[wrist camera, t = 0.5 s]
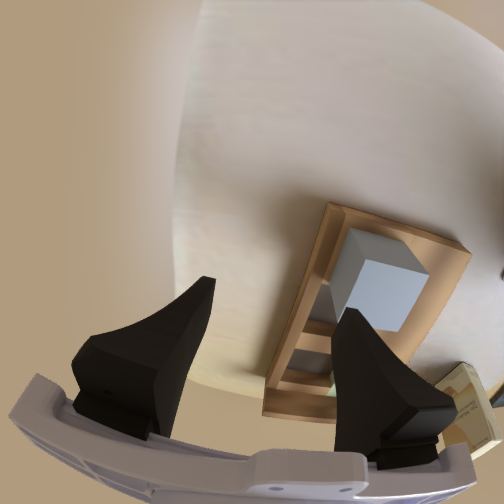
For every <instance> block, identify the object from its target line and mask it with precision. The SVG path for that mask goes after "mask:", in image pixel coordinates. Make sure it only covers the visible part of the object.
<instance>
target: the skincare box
mask: <svg viewBox="0 0 504 504" xmlns="http://www.w3.org/2000/svg"><path fill="white" fill-rule="evenodd" d="M434 387H435V388H437V389H439V390H440V391H442V392H444V393H446V394H448V395H450V396H451V397H453V399H454V402H455V405H456V408H457V410H458V414H457V417H456V418H455V420H454V421H453V422H452V423H451V424H450V425H449V426H448V427H447V428H446V429H444V430H443V431H442V435H443V439H444V443H445V447H446V448H447V447H449V446H451V445H454V444H459V443H464V442H467V444H468V448H469V451H470V455H471V458H472V460H474V459H475V458H477V457H479V456H480V455H482V454H484V453H485V452H487V451H488V450H489V449H491V448H492V447H494V446H495V445H497V444H498V443H500V442H501V441H502V440H503V439H502V435H501V432H500V429H499V426H498V424H497V421H496V418H495V415H494V412H493V410H492V407H491V404H490V402H489V399H488V397H487V395H486V392H485V390H484V387H483V385H482V383H481V380H480V378H479V376H478V374H477V372H476V369H475V368H473V367H471V366H470V365H468V364H465V363H461V364H460V365H459V366H458V367H456V368H455V369H454V370H453V371H452V372H451V373H449V374H448V375H447V376H446V377H445V378H444V379H442V380H441V381H440V382H439V383H437V384H436V385H435V386H434Z"/></svg>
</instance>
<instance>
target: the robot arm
mask: <svg viewBox="0 0 504 504" xmlns="http://www.w3.org/2000/svg"><path fill="white" fill-rule="evenodd" d="M503 281H504V277H503ZM215 283H216V279H214V278H210V277H206V276H202V277H200V278H199V279H198V280H197V281H196V282H195V283H194V284H193V285H192V286H191V287H190V288H189V289H188V290H187V291H185V292H184V293H183V294H182V295H180V296H179V297H178V298H177V299H175V300H174V301H173V302H171V303H170V304H168V305H167V306H166V307H164V308H163V309H161V310H159V311H158V312H156V313H154V314H153V315H151V316H149V317H147V318H145V319H143V320H141V321H139V322H137V323H135V324H132V325H130V326H127V327H124V328H121V329H118V330H114V331H111V332H107V333H102V334H98V335H93V336H90V338H89V339H88V340H87V341H86V342H85V343H84V344H83V346H82V347H81V349H80V350H79V352H78V353H77V355H76V356H75V357H74V359H73V360H72V364H71V366H72V370H73V373H74V376H75V378H76V381H77V383H78V385H79V387H80V392H79V393H78V395H77V397H76V399H75V400H74V401H73V400H71V399H69V398H67V397H66V394H65V392H64V390H63V389H62V388H61V387H60V386H59V385H57V384H56V383H54V382H52V381H51V380H49V379H47V378H45V377H44V376H42V375H40V374H38V373H36V374H35V375H34V377H33V378H32V380H31V381H30V383H29V384H28V386H27V387H26V389H25V390H24V392H23V393H22V395H21V396H20V398H19V399H18V401H17V403H16V404H15V406H14V407H13V409H12V410H11V412H10V414H9V418H10V419H11V421H12V422H13V423H14V424H15V425H16V426H17V427H18V428H19V429H20V431H21V432H22V433H23V434H24V435H25V436H26V437H27V438H28V439H29V440H30V441H31V442H32V443H33V444H34V445H36V446H37V447H39V448H40V449H42V450H43V451H45V452H47V453H48V454H50V455H51V456H53V457H55V458H56V459H58V460H60V461H61V462H63V463H65V464H67V465H68V466H70V467H72V468H74V469H75V470H77V471H79V472H81V473H83V474H85V475H86V476H88V477H90V478H92V479H94V480H96V481H98V482H100V483H102V484H104V485H106V486H108V487H110V488H113V489H115V490H117V491H120V492H122V493H124V494H126V495H129V496H131V497H134V498H136V499H139V500H142V501H144V502H147V503H149V504H437V503H440V502H443V501H445V500H447V499H449V498H451V497H453V496H455V495H456V494H458V493H460V492H462V491H464V490H466V489H467V488H469V487H470V486H472V485H474V484H476V483H477V478H476V474H475V470H474V466H473V462H472V458H471V455H470V451H469V448H468V444H467V442H464V443H459V444H454V445H451V446H449V447H447V448H445V449H444V450H442V451H441V452H440V453H439V454H438V453H437V449H436V445H435V444H437V443H438V442H439V440H438V436H437V435H439V434H440V433H441V432H442V431H443V430H444V429H446V428H447V427H448V426H449V425H450V424H451V423H452V422H453V421H454V420H455V418H456V417H457V414H458V410H457V408H456V405H455V402H454V399H453V397H451V396H450V395H448V394H446V393H444V392H442V391H440V390H439V389H437V388H435V387H434V386H432V385H431V384H429V383H428V382H426V381H425V380H424V379H422V378H421V377H420V376H418V375H417V374H416V373H415V372H413V371H412V370H411V369H410V368H409V367H408V366H407V365H405V364H404V363H403V362H402V361H401V360H400V359H399V358H398V357H397V356H396V355H395V354H394V353H393V351H392V350H391V349H390V348H389V347H388V346H387V345H386V343H385V342H384V341H383V340H382V339H381V337H380V336H379V335H378V334H377V332H376V331H375V330H374V329H373V327H372V326H371V325H370V323H369V322H368V321H367V320H366V318H365V317H364V316H363V315H362V313H361V312H360V311H359V310H358V309H355V308H350V307H346V308H345V310H344V312H343V314H342V317H341V319H340V321H339V323H338V325H337V327H336V329H335V331H334V333H333V335H332V337H331V359H332V366H333V374H334V381H335V388H336V398H337V419H336V436H335V446H334V452H327V451H307V450H295V449H268V450H262V451H259V452H257V453H255V454H254V455H252V456H245V455H239V454H234V453H228V452H223V451H218V450H213V449H209V448H204V447H200V446H196V445H192V444H188V443H184V442H181V441H177V440H173V439H170V436H171V432H172V427H173V424H174V420H175V416H176V412H177V409H178V405H179V401H180V397H181V394H182V391H183V388H184V384H185V380H186V377H187V374H188V372H189V369H190V366H191V364H192V362H193V359H194V357H195V355H196V352H197V350H198V348H199V345H200V343H201V341H202V338H203V336H204V334H205V331H206V328H207V325H208V321H209V318H210V314H211V309H212V302H213V296H214V290H215Z"/></svg>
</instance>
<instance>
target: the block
mask: <svg viewBox="0 0 504 504" xmlns="http://www.w3.org/2000/svg"><path fill="white" fill-rule="evenodd" d="M429 276H430V275H429V274H428V272H427V271H426V270H425V268H424V267H423V266H422V264H421V263H420V262H419V260H418V259H417V258H416V256H415V255H414V254H413V252H412V251H411V250H410V249H409V247H408V246H407V245H406V243H405V242H401V241H398V240H394V239H391V238H388V237H384V236H381V235H377V234H373V233H370V232H366V231H363V230H359V229H355V228H352V227H349V230H348V233H347V235H346V238H345V241H344V244H343V247H342V249H341V252H340V255H339V257H338V260H337V263H336V265H335V268H334V270H333V273H332V276H331V278H330V281H329V285H330V289H331V294H332V299H333V304H334V308H335V313H336V318H337V322H339V321H340V319H341V317H342V314H343V312H344V310H345V308H346V307H350V308H355V309H358V310H359V311H360V312H361V313H362V315H363V316H364V317H365V318H366V320H367V321H368V322H369V323H370V325H371V326H372V327H373V328H374V329H381V330H387V331H394V332H398V331H399V329H400V328H401V326H402V324H403V323H404V321H405V319H406V318H407V316H408V314H409V312H410V311H411V309H412V307H413V305H414V304H415V302H416V300H417V298H418V296H419V295H420V293H421V291H422V289H423V287H424V285H425V283H426V281H427V279H428V277H429Z"/></svg>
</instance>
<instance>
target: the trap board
mask: <svg viewBox="0 0 504 504" xmlns="http://www.w3.org/2000/svg"><path fill="white" fill-rule="evenodd" d="M349 227H352V228H355V229H359V230H363V231H366V232H370V233H373V234H377V235H381V236H384V237H388V238H391V239H394V240H398V241H401V242H405V243H406V245H407V246H408V247H409V249H410V250H411V251H412V252H413V254H414V255H415V256H416V258H417V259H418V260H419V262H420V263H421V264H422V266H423V267H424V268H425V270H426V271H427V272H428V274H429V275H430V276H429V277H428V279H427V281H426V283H425V285H424V287H423V289H422V291H421V293H420V295H419V296H418V298H417V300H416V302H415V304H414V305H413V307H412V309H411V311H410V312H409V314H408V316H407V318H406V319H405V321H404V323H403V324H402V326H401V328H400V329H399V331H398V332H394V331H387V330H381V329H374V328H373V329H374V330H375V331H376V332H377V334H378V335H379V336H380V337H381V339H382V340H383V341H384V342H385V343H386V345H387V346H388V347H389V348H390V349H391V350H392V351H393V353H394V354H395V355H396V356H397V357H398V358H399V359H400V360H401V361H402V362H403V363H404V364H405V365H406V364H407V363H408V361H409V360H410V358H411V357H412V356H413V354H414V353H415V352H416V350H417V349H418V347H419V346H420V344H421V343H422V342H423V340H424V339H425V337H426V336H427V334H428V333H429V331H430V330H431V328H432V326H433V325H434V323H435V322H436V320H437V319H438V317H439V315H440V314H441V312H442V310H443V309H444V307H445V305H446V304H447V302H448V300H449V299H450V297H451V295H452V293H453V291H454V290H455V288H456V286H457V284H458V282H459V280H460V278H461V277H462V275H463V273H464V271H465V269H466V267H467V265H468V263H469V261H470V259H471V256H472V254H471V253H470V252H469V251H468V250H467V249H466V248H465V247H464V246H463V245H462V244H460V243H457V242H454V241H452V240H449V239H446V238H443V237H440V236H438V235H435V234H432V233H429V232H426V231H423V230H420V229H417V228H414V227H411V226H408V225H405V224H401V223H398V222H395V221H392V220H389V219H385V218H382V217H379V216H376V215H372V214H369V213H365V212H362V211H359V210H355V209H351V208H348V207H344V206H341V205H337V204H333V203H330V202H328V203H327V206H326V209H325V213H324V216H323V219H322V222H321V226H320V229H319V232H318V235H317V238H316V241H315V244H314V247H313V250H312V254H311V257H310V260H309V263H308V265H307V268H306V271H305V274H304V277H303V280H302V283H301V286H300V289H299V292H298V294H297V297H296V300H295V303H294V306H293V308H292V311H291V314H290V316H289V319H288V322H287V325H286V327H285V330H284V333H283V335H282V338H281V340H280V343H279V346H278V348H277V351H276V353H275V356H274V358H273V361H272V363H271V366H270V368H269V371H268V373H267V376H266V379H265V389H264V401H263V410H262V416H266V417H272V418H280V419H287V420H295V421H304V422H315V423H327V424H336V419H337V398H336V388H335V381H334V374H333V366H332V359H331V337H332V335H333V333H334V331H335V329H336V327H337V325H338V323H339V322H337V318H336V313H335V308H334V304H333V299H332V294H331V289H330V285H329V281H330V278H331V276H332V273H333V270H334V268H335V265H336V263H337V260H338V257H339V255H340V252H341V249H342V247H343V244H344V241H345V238H346V235H347V233H348V230H349Z"/></svg>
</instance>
